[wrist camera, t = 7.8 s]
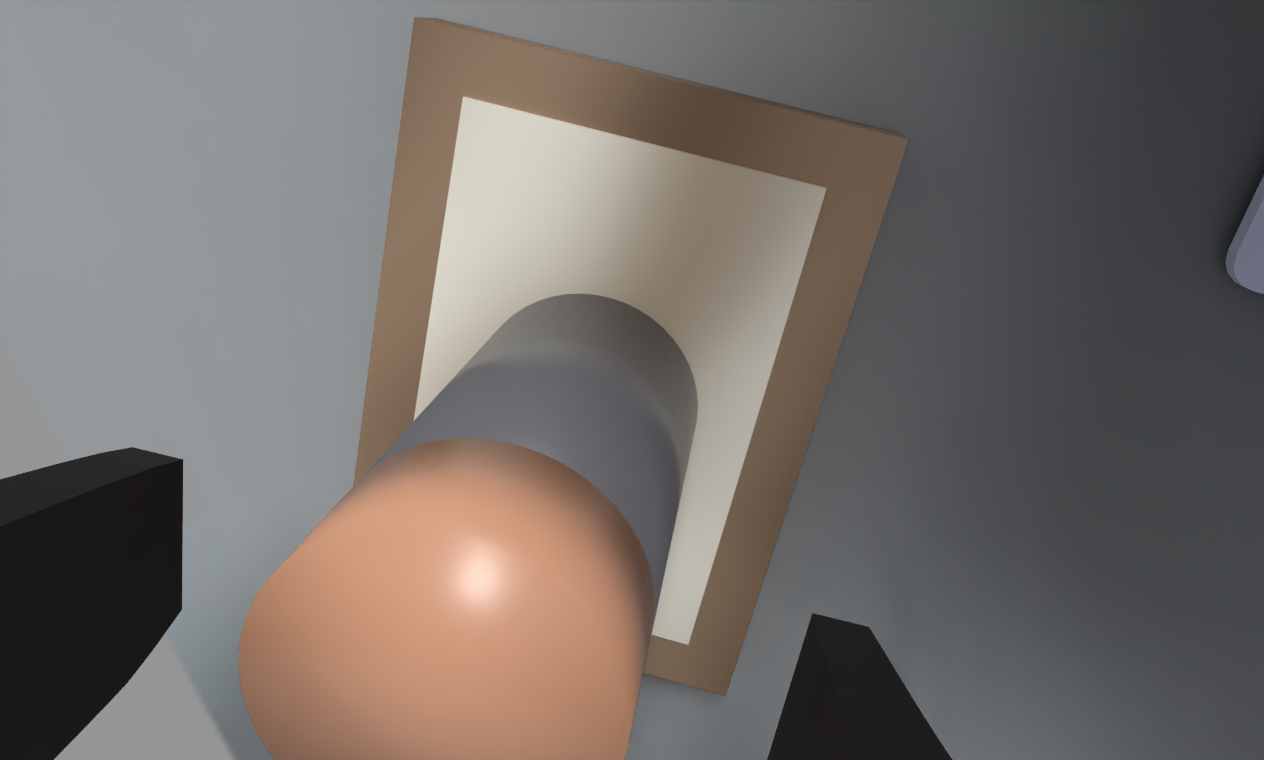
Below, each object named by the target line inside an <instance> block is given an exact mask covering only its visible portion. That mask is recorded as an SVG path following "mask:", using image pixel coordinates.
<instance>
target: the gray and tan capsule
mask: <svg viewBox="0 0 1264 760" xmlns="http://www.w3.org/2000/svg"><path fill="white" fill-rule="evenodd" d="M697 414H698V399H697V390H696V385H695V381H694V377H693V374H692V371H691V369H690V366H689V364H688V362H687V360H686V358H685V356H684V354H683V352H682V351H681V349H680V348H679V346H678V345H677V343H676V342H675V340H674V339H673V338H672V337H671V336H670V335H669V334H668V333H667V331H666V330H665V329H664V328H663V327H662V326H660V325H659V324H658V323H657V322H656V321H655V320H653V319H652V318H651V317H649V316H648V315H646V314H645V313H643V312H642V311H640V310H638V309H636V308H634V307H632V306H630V305H628V304H626V303H624V302H621V301H618V300H615V299H612V298H609V297H604V296H599V295H593V294H564V295H558V296H553V297H549V298H546V299H543V300H540V301H537V302H535V303H533V304H531V305H529V306H526V307H524V308H523V309H521V310H520V311H518V312H517V313H515V314H514V315H512V316H511V317H510V318H509V319H508V320H507V321H506V322H505V323H504V324H502V326H501V327H500V328H499V329H498V330H497V331H496V332H495V333H494V334H493V335H492V336H491V337H490V339H489V340H488V341H487V342H486V343H485V344H484V345H483V346H482V347H481V348H480V349H479V351H478V352H477V353H476V354H475V355H474V356H473V357H472V358H471V359H470V360H469V361H468V362H467V364H466V365H465V366H464V367H463V368H462V369H461V370H460V371H459V372H458V373H457V374H456V376H455V377H454V378H453V379H452V380H451V381H450V382H449V383H448V384H447V385H446V386H445V387H444V389H443V390H442V391H441V392H440V393H439V394H438V395H437V396H436V397H435V398H434V399H433V401H432V402H431V403H430V404H429V405H428V406H427V407H426V408H425V409H424V410H423V411H422V412H421V414H420V415H419V416H418V417H417V418H416V419H415V420H414V421H413V422H412V423H411V424H410V426H409V427H408V428H407V429H406V430H405V431H404V432H403V433H402V434H401V435H400V436H399V438H398V439H397V440H396V441H395V442H394V443H393V444H392V445H391V446H390V447H389V448H388V449H387V451H386V452H385V453H384V454H383V455H382V456H381V457H380V458H379V459H378V460H377V461H376V463H375V464H374V465H373V466H372V467H371V468H370V469H369V470H368V471H367V472H366V473H365V474H364V476H363V477H362V478H361V479H360V480H359V481H358V482H357V483H356V484H355V485H354V486H353V488H352V489H351V490H350V491H349V492H348V493H347V494H346V495H345V496H344V497H343V498H342V499H341V501H340V502H339V503H338V504H337V505H336V506H335V507H334V508H333V509H332V510H331V511H330V513H329V514H328V515H327V516H326V517H325V518H324V519H323V520H322V521H321V522H320V523H319V525H318V526H317V527H316V528H315V529H314V530H313V531H312V532H311V533H310V534H309V535H308V536H307V538H306V539H305V540H304V541H303V542H302V543H301V544H300V545H299V546H298V547H297V548H296V550H295V551H294V552H293V553H292V554H291V555H290V556H289V557H288V558H287V559H286V560H285V561H284V563H283V564H282V565H281V566H280V567H279V568H278V569H277V570H276V571H275V572H274V573H273V575H272V576H271V577H270V578H269V580H268V581H267V582H266V583H265V584H264V586H263V587H262V588H261V589H260V591H259V593H258V594H257V596H256V598H255V600H254V601H253V603H252V605H251V607H250V609H249V611H248V614H247V617H246V620H245V623H244V626H243V629H242V635H241V640H240V646H239V675H240V682H241V690H242V693H243V697H244V701H245V704H246V708H247V711H248V714H249V716H250V718H251V721H252V723H253V725H254V728H255V730H256V732H257V734H258V736H259V737H260V739H261V741H262V742H263V744H264V746H265V748H266V749H267V751H268V752H269V754H270V755H271V757H272V758H273V759H274V760H625V758H626V753H627V748H628V744H629V739H630V734H631V730H632V725H633V720H634V716H635V711H636V706H637V701H638V697H639V692H640V687H641V682H642V678H643V673H644V668H645V664H646V659H647V654H648V649H649V645H650V640H651V635H652V631H653V626H654V621H655V616H656V612H657V607H658V602H659V597H660V593H661V588H662V583H663V579H664V574H665V569H666V564H667V560H668V555H669V550H670V546H671V541H672V536H673V531H674V527H675V522H676V517H677V513H678V508H679V503H680V498H681V494H682V489H683V484H684V479H685V475H686V470H687V465H688V461H689V456H690V451H691V446H692V442H693V437H694V432H695V428H696V423H697Z"/></svg>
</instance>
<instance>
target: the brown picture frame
mask: <svg viewBox="0 0 1264 760" xmlns="http://www.w3.org/2000/svg"><path fill="white" fill-rule="evenodd" d="M908 141H909V140H908V139H907V138H905V137H904V136H903V135H902V134H900V133H896V132H892V131H888V130H884V129H880V128H876V127H872V126H868V125H864V124H860V123H856V122H852V121H848V120H844V119H840V118H836V117H832V116H828V115H824V114H820V113H816V112H812V111H808V110H803V109H799V108H795V107H791V106H787V105H783V104H779V103H775V102H771V101H767V100H763V99H759V98H755V97H751V96H747V95H743V94H739V93H735V92H731V91H727V90H723V89H719V88H715V87H711V86H707V85H703V84H699V83H695V82H691V81H687V80H683V79H679V78H675V77H671V76H666V75H662V74H658V73H654V72H650V71H646V70H642V69H638V68H634V67H630V66H626V65H622V64H618V63H614V62H610V61H606V60H602V59H598V58H594V57H590V56H586V55H582V54H578V53H574V52H570V51H566V50H562V49H558V48H554V47H550V46H546V45H542V44H538V43H534V42H530V41H525V40H521V39H517V38H513V37H509V36H505V35H501V34H497V33H493V32H489V31H485V30H481V29H477V28H473V27H469V26H465V25H461V24H457V23H453V22H449V21H445V20H441V19H437V18H417V17H414V23H413V31H412V39H411V46H410V54H409V62H408V70H407V77H406V85H405V93H404V101H403V108H402V116H401V124H400V131H399V139H398V147H397V155H396V162H395V170H394V178H393V186H392V193H391V201H390V209H389V216H388V224H387V232H386V240H385V247H384V255H383V263H382V271H381V278H380V286H379V294H378V301H377V309H376V317H375V325H374V332H373V340H372V348H371V355H370V363H369V371H368V379H367V386H366V394H365V402H364V410H363V417H362V425H361V433H360V440H359V448H358V456H357V464H356V471H355V479H354V485H355V484H356V483H357V482H358V481H359V480H360V479H361V478H362V477H363V476H364V474H365V473H366V472H367V471H368V470H369V469H370V468H371V467H372V466H373V465H374V464H375V463H376V461H377V460H378V459H379V458H380V457H381V456H382V455H383V454H384V453H385V452H386V451H387V449H388V448H389V447H390V446H391V445H392V444H393V443H394V442H395V441H396V440H397V439H398V438H399V436H400V435H401V434H402V433H403V432H404V431H405V430H406V429H407V428H408V427H409V426H410V424H411V423H412V422H413V421H414V420H415V419H416V418H417V417H418V416H419V415H420V414H421V412H422V411H423V410H424V409H425V408H426V407H427V406H428V405H429V404H430V403H431V402H432V401H433V399H434V398H435V397H436V396H437V395H438V394H439V393H440V392H441V391H442V390H443V389H444V387H445V386H446V385H447V384H448V383H449V382H450V381H451V380H452V379H453V378H454V377H455V376H456V374H457V373H458V372H459V371H460V370H461V369H462V368H463V367H464V366H465V365H466V364H467V362H468V361H469V360H470V359H471V358H472V357H473V356H474V355H475V354H476V353H477V352H478V351H479V349H480V348H481V347H482V346H483V345H484V344H485V343H486V342H487V341H488V340H489V339H490V337H491V336H492V335H493V334H494V333H495V332H496V331H497V330H498V329H499V328H500V327H501V326H502V324H504V323H505V322H506V321H507V320H508V319H509V318H510V317H511V316H512V315H514V314H515V313H517V312H518V311H520V310H521V309H523V308H524V307H526V306H529V305H531V304H533V303H535V302H537V301H540V300H543V299H546V298H549V297H553V296H558V295H564V294H593V295H599V296H604V297H609V298H612V299H615V300H618V301H621V302H624V303H626V304H628V305H630V306H632V307H634V308H636V309H638V310H640V311H642V312H643V313H645V314H646V315H648V316H649V317H651V318H652V319H653V320H655V321H656V322H657V323H658V324H659V325H660V326H662V327H663V328H664V329H665V330H666V331H667V333H668V334H669V335H670V336H671V337H672V338H673V339H674V340H675V342H676V343H677V345H678V346H679V348H680V349H681V351H682V352H683V354H684V356H685V358H686V360H687V362H688V364H689V366H690V369H691V371H692V374H693V377H694V381H695V385H696V390H697V399H698V414H697V423H696V428H695V432H694V437H693V442H692V446H691V451H690V456H689V461H688V465H687V470H686V475H685V479H684V484H683V489H682V494H681V498H680V503H679V508H678V513H677V517H676V522H675V527H674V531H673V536H672V541H671V546H670V550H669V555H668V560H667V564H666V569H665V574H664V579H663V583H662V588H661V593H660V597H659V602H658V607H657V612H656V616H655V621H654V626H653V631H652V635H651V640H650V645H649V649H648V654H647V659H646V664H645V668H644V673H645V674H649V675H652V676H656V677H659V678H663V679H666V680H670V681H673V682H677V683H681V684H684V685H688V686H691V687H695V688H698V689H702V690H705V691H709V692H712V693H716V694H720V695H723V696H726V693H727V690H728V687H729V684H730V681H731V678H732V675H733V672H734V669H735V666H736V663H737V660H738V657H739V654H740V651H741V648H742V645H743V642H744V638H745V635H746V632H747V629H748V626H749V623H750V620H751V617H752V614H753V611H754V608H755V605H756V602H757V599H758V596H759V593H760V590H761V587H762V584H763V581H764V578H765V575H766V572H767V569H768V566H769V563H770V560H771V557H772V554H773V551H774V548H775V544H776V541H777V538H778V535H779V532H780V529H781V526H782V523H783V520H784V517H785V514H786V511H787V508H788V505H789V502H790V499H791V496H792V493H793V490H794V487H795V484H796V481H797V478H798V475H799V472H800V469H801V466H802V463H803V460H804V457H805V454H806V450H807V447H808V444H809V441H810V438H811V435H812V432H813V429H814V426H815V423H816V420H817V417H818V414H819V411H820V408H821V405H822V402H823V399H824V396H825V393H826V390H827V387H828V384H829V381H830V378H831V375H832V372H833V369H834V366H835V363H836V359H837V356H838V353H839V350H840V347H841V344H842V341H843V338H844V335H845V332H846V329H847V326H848V323H849V320H850V317H851V314H852V311H853V308H854V305H855V302H856V299H857V296H858V293H859V290H860V287H861V284H862V281H863V278H864V275H865V272H866V269H867V265H868V262H869V259H870V256H871V253H872V250H873V247H874V244H875V241H876V238H877V235H878V232H879V229H880V226H881V223H882V220H883V217H884V214H885V211H886V208H887V205H888V202H889V199H890V196H891V193H892V190H893V187H894V184H895V181H896V178H897V175H898V171H899V168H900V165H901V162H902V159H903V156H904V153H905V150H906V147H907V144H908Z"/></svg>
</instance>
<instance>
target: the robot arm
mask: <svg viewBox="0 0 1264 760" xmlns="http://www.w3.org/2000/svg"><path fill="white" fill-rule="evenodd" d="M1225 263H1226V268H1227V273H1228V274H1229V275H1230V277H1231V278H1232V279H1233V281H1234V282H1236V283H1238V284H1240V285H1241V286H1243V287H1245V288H1247V289H1250V290H1252V291H1254V292H1258V293H1261V294H1264V176H1263V178H1262V180H1261V182H1260V184H1259V186H1258V188H1257V190H1256V192H1255V195H1254V197H1253V199H1252V201H1251V203H1250V205H1249V207H1248V209H1247V211H1246V213H1245V216H1244V218H1243V220H1242V222H1241V224H1240V226H1239V228H1238V230H1237V232H1236V235H1235V237H1234V239H1233V241H1232V243H1231V245H1230V247H1229V249H1228V253H1227V257H1226V261H1225ZM182 523H183V460H182V459H178V458H174V457H170V456H166V455H162V454H158V453H154V452H150V451H146V450H141V449H137V448H133V447H132V448H126V449H121V450H115V451H109V452H105V453H100V454H96V455H91V456H87V457H83V458H79V459H75V460H71V461H67V462H63V463H59V464H56V465H52V466H48V467H44V468H41V469H37V470H33V471H30V472H26V473H22V474H19V475H16V476H11V477H8V478H4V479H1V480H0V760H54V759H55V758H56V757H57V756H58V754H60V752H61V751H62V750H63V749H64V748H65V747H66V746H67V745H68V744H69V743H70V742H71V741H72V740H73V739H74V738H75V737H76V736H77V735H78V734H79V733H80V732H81V731H82V730H83V729H84V728H85V727H86V726H87V725H88V724H89V723H90V722H91V720H92V719H93V718H94V717H95V716H96V715H97V714H98V713H99V712H100V711H101V710H102V709H103V708H104V707H105V706H106V705H107V704H108V703H109V702H110V701H111V700H112V699H113V698H114V696H115V695H116V694H117V693H118V692H119V691H120V690H121V689H122V688H123V687H124V686H125V685H126V683H128V681H129V680H130V679H131V677H132V676H133V675H134V674H135V672H136V671H137V670H138V668H139V667H140V666H141V665H142V663H143V662H144V661H145V659H146V658H147V657H148V656H149V654H150V653H151V652H152V650H153V649H154V648H155V646H156V645H157V643H158V642H159V641H160V639H161V638H162V636H163V635H164V634H165V632H166V631H167V629H168V628H169V627H170V625H171V624H172V622H173V621H174V620H175V618H176V617H177V616H178V614H179V613H180V611H181V610H182ZM767 760H952V759H951V757H950V756H949V754H948V753H947V751H946V750H945V748H944V747H943V745H942V744H941V742H940V741H939V739H938V738H937V736H936V735H935V733H934V732H933V730H932V728H931V727H930V725H929V724H928V722H927V721H926V719H925V718H924V716H923V714H922V713H921V711H920V709H919V708H918V706H917V705H916V703H915V701H914V700H913V698H912V697H911V695H910V693H909V692H908V690H907V688H906V687H905V685H904V684H903V682H902V680H901V679H900V677H899V675H898V674H897V672H896V670H895V669H894V667H893V666H892V664H891V662H890V661H889V659H888V657H887V656H886V654H885V652H884V651H883V649H882V648H881V646H880V644H879V643H878V641H877V639H876V638H875V636H874V635H873V633H872V631H871V630H870V628H869V627H866V626H862V625H858V624H854V623H850V622H846V621H842V620H838V619H834V618H830V617H825V616H821V615H817V614H813V613H812V617H811V620H810V623H809V626H808V629H807V633H806V636H805V639H804V642H803V646H802V649H801V652H800V655H799V659H798V662H797V665H796V668H795V672H794V675H793V678H792V681H791V684H790V688H789V691H788V694H787V697H786V701H785V704H784V707H783V710H782V714H781V717H780V720H779V723H778V727H777V730H776V733H775V736H774V739H773V743H772V746H771V749H770V752H769V756H768V759H767Z"/></svg>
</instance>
